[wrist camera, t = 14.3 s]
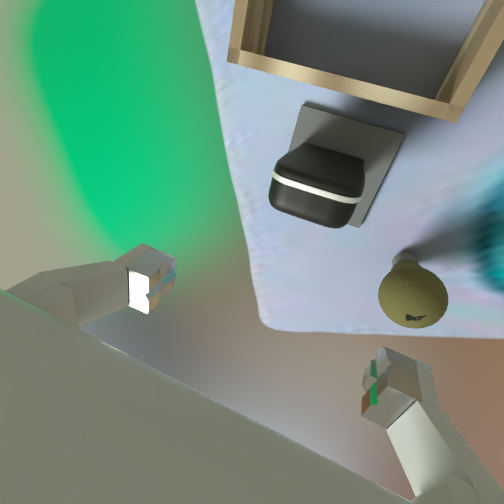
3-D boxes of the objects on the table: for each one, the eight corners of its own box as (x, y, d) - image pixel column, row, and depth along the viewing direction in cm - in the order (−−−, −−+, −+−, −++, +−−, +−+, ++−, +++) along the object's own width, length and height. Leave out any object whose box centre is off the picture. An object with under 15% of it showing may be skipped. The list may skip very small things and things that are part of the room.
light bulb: (393, 287, 34) (401, 349, 26) (366, 252, 33) (366, 305, 25) (443, 266, 31) (469, 329, 23) (414, 227, 30) (431, 279, 22)
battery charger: (290, 175, 31) (257, 211, 22) (300, 140, 29) (268, 163, 20) (353, 195, 30) (345, 242, 21) (368, 159, 28) (367, 193, 18)
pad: (404, 133, 26) (404, 134, 26) (358, 225, 32) (358, 228, 31) (302, 105, 28) (301, 105, 28) (276, 197, 34) (275, 198, 33)
